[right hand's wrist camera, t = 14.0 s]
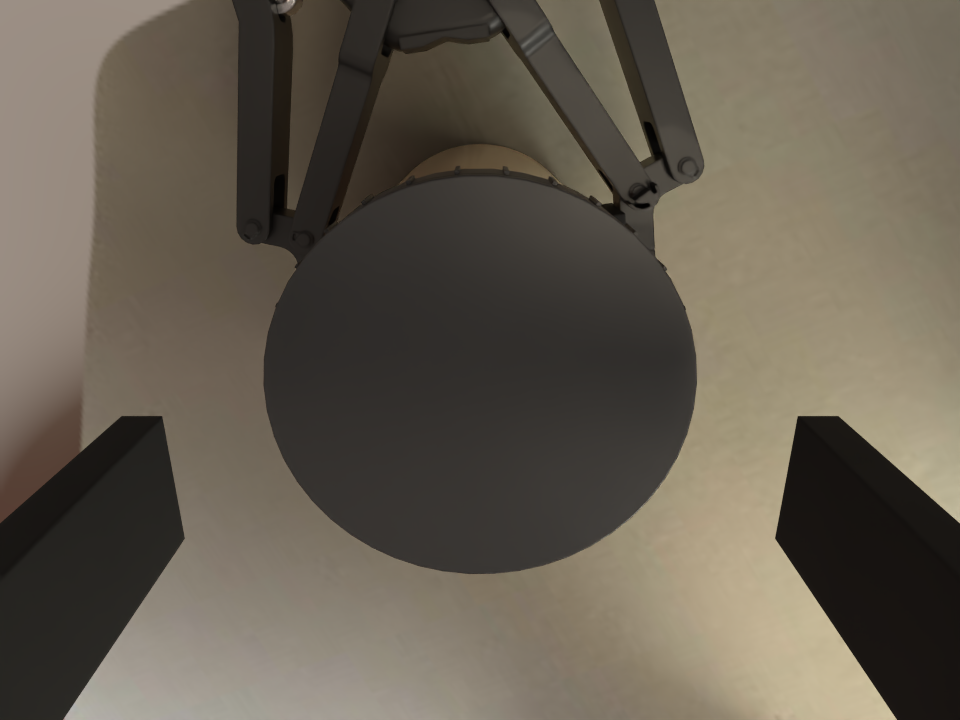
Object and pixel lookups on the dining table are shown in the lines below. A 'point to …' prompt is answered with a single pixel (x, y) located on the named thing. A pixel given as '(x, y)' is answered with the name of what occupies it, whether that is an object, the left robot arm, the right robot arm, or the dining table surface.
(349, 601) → the dining table surface
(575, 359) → the lid
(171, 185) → the dining table surface
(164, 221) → the dining table surface
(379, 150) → the dining table surface
